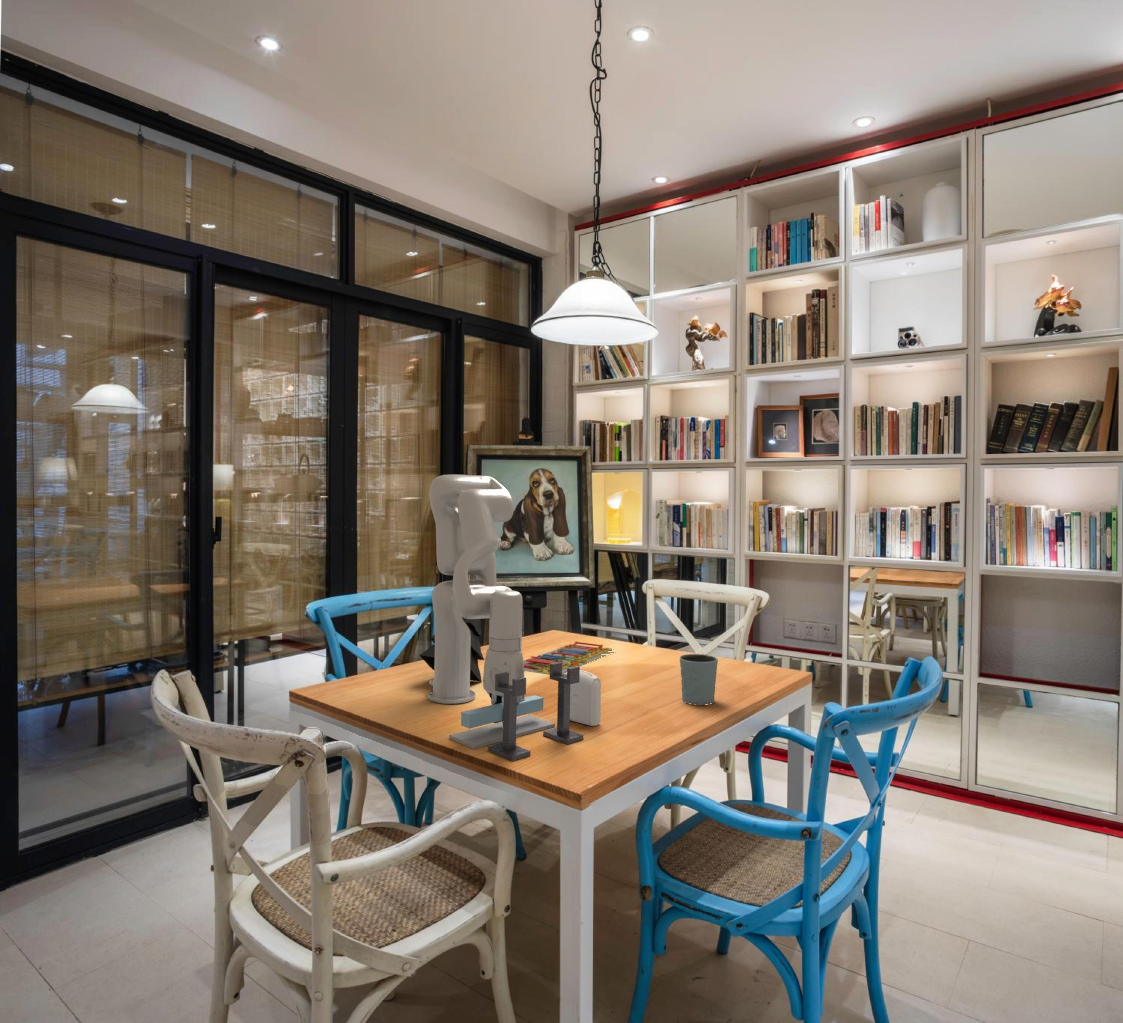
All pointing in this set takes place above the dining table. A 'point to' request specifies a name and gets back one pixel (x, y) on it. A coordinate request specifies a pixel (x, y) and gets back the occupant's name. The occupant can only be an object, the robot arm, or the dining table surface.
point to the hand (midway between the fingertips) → (503, 723)
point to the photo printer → (586, 699)
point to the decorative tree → (475, 650)
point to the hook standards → (511, 692)
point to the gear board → (565, 657)
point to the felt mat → (499, 732)
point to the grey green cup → (698, 678)
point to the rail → (499, 712)
